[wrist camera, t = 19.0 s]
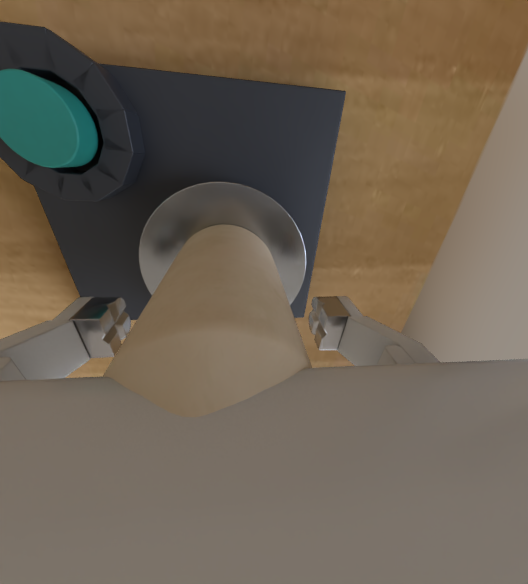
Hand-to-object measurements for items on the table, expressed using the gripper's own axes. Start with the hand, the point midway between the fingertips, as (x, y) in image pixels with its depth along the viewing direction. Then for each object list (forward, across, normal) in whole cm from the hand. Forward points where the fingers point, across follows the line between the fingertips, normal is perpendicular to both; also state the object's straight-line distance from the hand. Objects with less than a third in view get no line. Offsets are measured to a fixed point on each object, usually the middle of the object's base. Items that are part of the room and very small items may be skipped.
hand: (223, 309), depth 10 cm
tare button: (+5, +7, -7) cm, 11 cm away
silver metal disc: (+4, 0, 0) cm, 4 cm away
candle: (+4, 0, 0) cm, 4 cm away
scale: (+8, +2, -2) cm, 8 cm away
